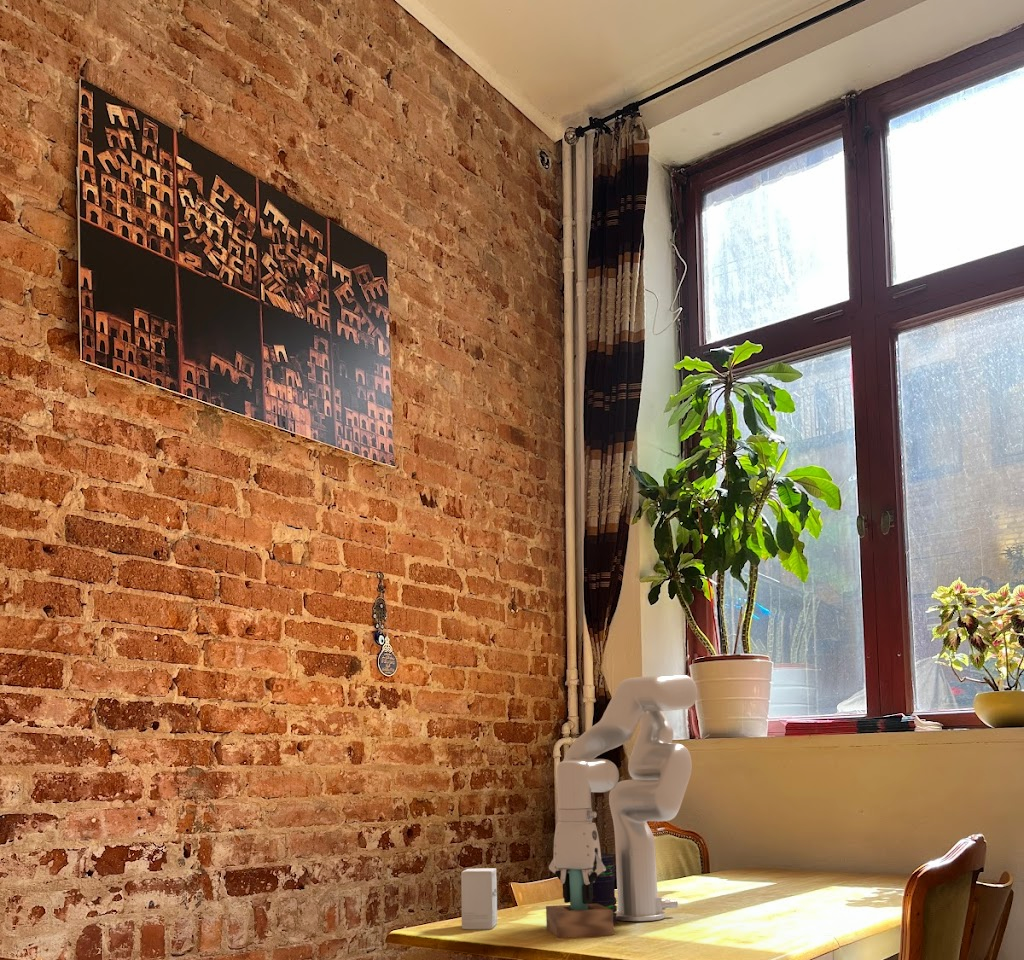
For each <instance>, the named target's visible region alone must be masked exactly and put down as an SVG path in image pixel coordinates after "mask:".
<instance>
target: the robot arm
mask: <svg viewBox="0 0 1024 960" xmlns="http://www.w3.org/2000/svg"><path fill="white" fill-rule="evenodd" d="M698 692H699V691H698V687H697V684H696V682H695V681H694V679H693V678H692V677H690V676H689V675H686V674H678V675H677V674H676V675H662V676H661V675H654V676H652V675H651V676H638V677H637V676H636V677H628V678H625V679H624V680H621V682H620V683H619V684H618V685H617V687H616V689H615V691H614V693H613V695H612V697H611V699H610V701H609V703H608V704H607V707H606V709H605V710H604V712H603V715H602V717H601V718H600V720H599V721H598V722H596V723H595V724H594V725H593V726H591V727H590V728H588V729H587V730H586V731H585V732H583V733H582V734H581V735H579V736H578V737H577V738H576V739H575V740H574V742H572V744H571V745H570V746H569V748H568V750H567V752H566V754H565V755H564V757H563V760H562V761H560V762H559V763H558V764H557V765H556V777H557V778H556V780H557V784H556V785H557V806H558V807H557V808H558V809H557V811H558V812H557V813H558V822H557V823H556V825H555V830H554V838H553V858H552V860H551V862H550V863H549V865H548V869H549V871H550V872H552V873H553V874H554V875H555V876H556V877H557V879H558V880H559V882H560V883H561V884H562V897H563V902H564V903H565V904H567V903H568V904H570V884H569V870H582V873H583V878H584V885H582V896H583V903H584V904H588V903H591V902H592V899H593V885H592V884H593V883H594V882H595V880H596V879H597V878H598V876H599V875H601V874H602V873H603V872H605V871H606V868H605V866H604V864H603V863H602V861H601V854H602V853H601V844H600V838H599V832H598V827H597V823H596V822H593V819H595V818H597V815H598V814H597V811H593V808H592V794H591V793H607V792H609V794H608V801H609V802H608V805H609V810H610V813H611V818H612V821H613V831H614V843H615V844H614V848H615V873H616V887H617V889H616V891H617V895H616V896H617V911H616V912H614V913H616V914H617V915H616V920H617V921H624V922H651V921H652V922H653V921H658V920H659V921H660V920H662V919H665V918H666V913H665V910H666V909H677V908H678V906H679V904H678V900H677V899H664V898H663V897H660V896H659V895H658V880H657V879H658V877H657V875H658V874H657V858H656V842H655V836H654V833H653V832H652V830H651V828H650V826H649V824H648V822H669V821H671V820H673V819H675V818H676V816H677V814H678V813H679V810H680V809H681V807H682V806H681V805H682V803H683V800H684V796H685V794H686V790H687V787H688V784H689V783H690V782H689V781H690V778H691V776H692V775H691V774H692V769H693V767H692V766H693V764H692V763H693V762H692V757H691V753H690V751H689V749H688V748H687V747H686V746H685V745H683V744H681V743H677V742H673V739H674V729H673V727H672V725H671V723H670V721H669V720H668V719H667V716H666V714H665V713H664V711H665V712H666V711H671V712H672V711H677V710H679V711H680V710H687V709H690V708H692V707H693V706H694V705H695V703H696V702H697V700H698ZM639 723H640V727H639V728H640V729H639V732H638V735H637V738H636V740H635V743H634V746H633V748H632V751H631V754H630V757H629V760H628V765H627V769H628V773H629V776H630V777H631V778H632V779H626V780H625V779H623V780H619V779H620V773H619V772H620V771H619V769H618V767H617V765H616V764H615V763H614V762H612V761H611V760H609V759H605V758H597V757H598V756H600V755H602V754H604V753H606V752H608V751H610V750H611V751H612V750H614V749H616V748H618V747H620V746H623V745H624V744H626V743H628V742H629V741H631V739H632V738H633V735H634V733H635V731H636V728H637V727H638V725H639ZM592 868H597V869H596V870H595V871H594V872H593V870H592Z"/></svg>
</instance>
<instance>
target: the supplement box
mask: <svg viewBox="0 0 1024 960" xmlns="http://www.w3.org/2000/svg"><path fill="white" fill-rule="evenodd" d="M460 874H461V875H460V878H461V883H460V884H461V887H460V889H461V893H460V895H461V929H462V930H493V928H494V927H496V926H497V925H498V890H497V889H498V888H497V885H498V884H497V883H498V881H497V878H498V877H497V868H496V867H495V868H493V867H492V868H490V867H486V868H485V867H482V868H481V867H480V868H466V869H465V870H462V871H461V872H460ZM496 924H497V925H496Z"/></svg>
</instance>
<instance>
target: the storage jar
mask: <svg viewBox="0 0 1024 960" xmlns="http://www.w3.org/2000/svg"><path fill="white" fill-rule="evenodd" d="M614 860H615V855H614V854H612V853H601V861H602V863H603V864H604V866H605V868H606V871H605V872H603V873H602V874H601V875H599V876H598V878H597V879H596V880H595V882H594V883H593V884H592V885H593V899H592V902H591V903H588V904H594V903H597V904H600V905H602V906H604V907H606V908H609V909H611V910H613V926H614V925H617V924H618V920H616V915H617V914H616V913H614V912H616V911H618V905H617V903H618V900H617V898H616V895H615V894H616V893H615V891H616V890H615V880H616V865H615V861H614ZM596 869H597V868H592V870H593V872H594V871H595V870H596Z"/></svg>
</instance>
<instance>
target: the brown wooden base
mask: <svg viewBox="0 0 1024 960" xmlns="http://www.w3.org/2000/svg"><path fill="white" fill-rule="evenodd" d="M545 914H546V915H545V917H546V920H545V921H546V930H547V931H548V932H550V933H551V934H553V935H554V934H555V936H556V937H558V938H559V937H560V938H559V939H565V938H566V939H567V937H571V938H583V937H601V936H614V935H615V934H614V933H615V932H614V931H615V928H614V925H613V910H611V909H609V908H606V907H604V906H602V905H600V904H597V903H594V904H588V910H574V911H570V904H563V905H546V906H545Z"/></svg>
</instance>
